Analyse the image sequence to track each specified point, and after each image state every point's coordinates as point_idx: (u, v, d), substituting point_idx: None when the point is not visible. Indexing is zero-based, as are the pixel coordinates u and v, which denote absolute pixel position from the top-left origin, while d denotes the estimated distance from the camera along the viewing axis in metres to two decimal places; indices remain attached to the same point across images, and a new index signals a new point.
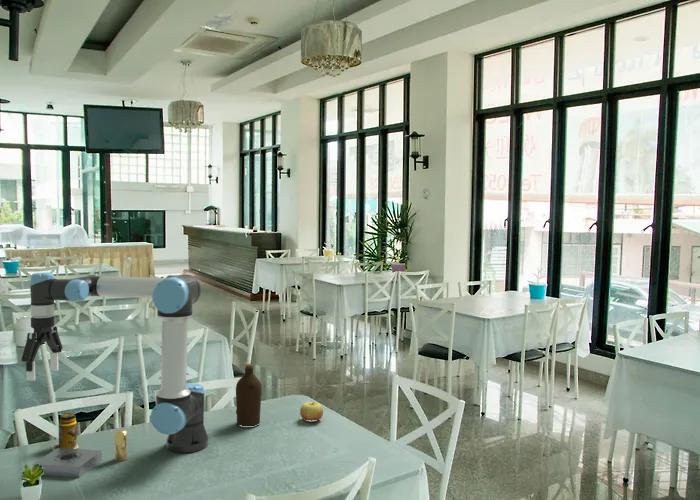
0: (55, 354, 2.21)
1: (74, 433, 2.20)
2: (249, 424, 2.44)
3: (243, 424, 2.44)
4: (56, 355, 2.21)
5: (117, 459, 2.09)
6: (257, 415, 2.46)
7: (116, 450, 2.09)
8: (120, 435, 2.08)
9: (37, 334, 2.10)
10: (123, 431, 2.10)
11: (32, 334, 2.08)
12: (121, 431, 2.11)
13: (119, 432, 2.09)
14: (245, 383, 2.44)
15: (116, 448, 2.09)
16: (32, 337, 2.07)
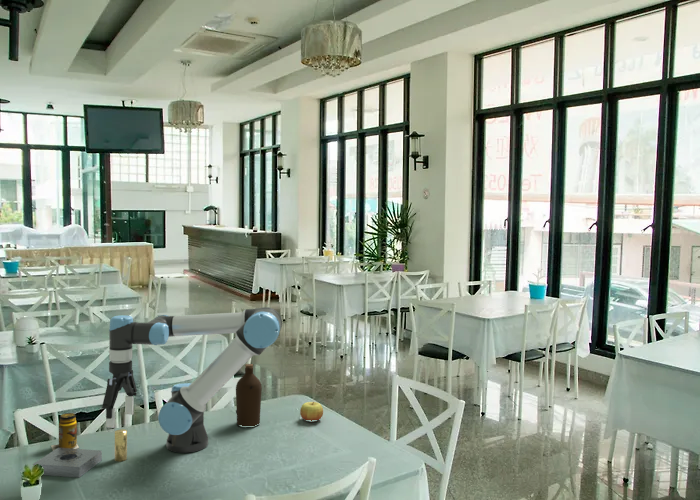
0: (130, 398, 2.16)
1: (74, 433, 2.20)
2: (249, 424, 2.44)
3: (243, 424, 2.44)
4: (131, 399, 2.16)
5: (117, 459, 2.09)
6: (257, 415, 2.46)
7: (116, 450, 2.09)
8: (120, 435, 2.08)
9: (116, 380, 2.05)
10: (123, 431, 2.10)
11: (112, 380, 2.02)
12: (121, 431, 2.11)
13: (119, 432, 2.09)
14: (245, 383, 2.44)
15: (116, 448, 2.09)
16: (112, 383, 2.02)
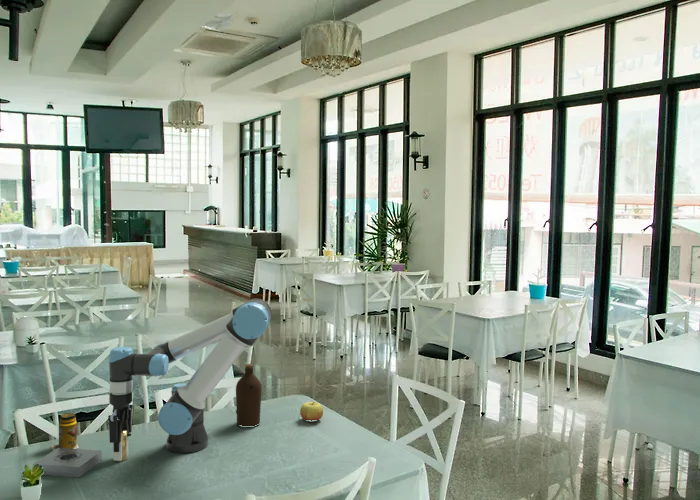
0: None
1: (74, 433, 2.20)
2: (249, 424, 2.44)
3: (243, 424, 2.44)
4: None
5: None
6: (257, 415, 2.46)
7: None
8: None
9: (117, 413, 2.06)
10: (123, 431, 2.10)
11: (113, 418, 2.03)
12: (121, 431, 2.11)
13: None
14: (245, 383, 2.44)
15: None
16: (114, 420, 2.04)
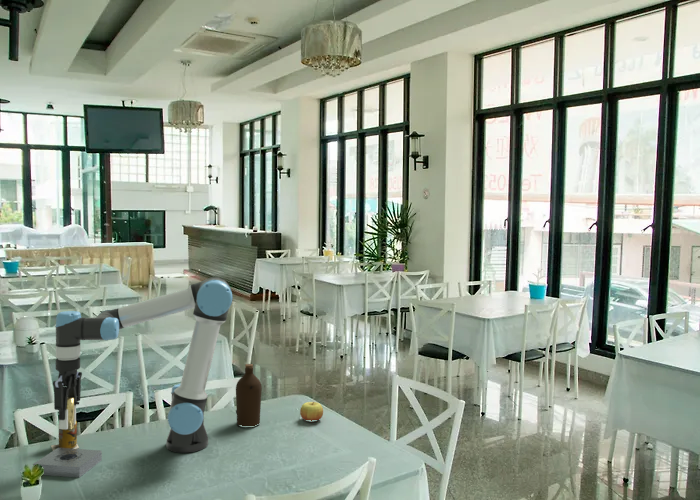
0: None
1: (74, 433, 2.20)
2: (249, 424, 2.44)
3: (243, 424, 2.44)
4: None
5: None
6: (257, 415, 2.46)
7: None
8: None
9: (63, 379, 1.98)
10: (70, 398, 2.02)
11: (58, 383, 1.95)
12: (68, 398, 2.02)
13: None
14: (245, 383, 2.44)
15: None
16: (59, 386, 1.95)
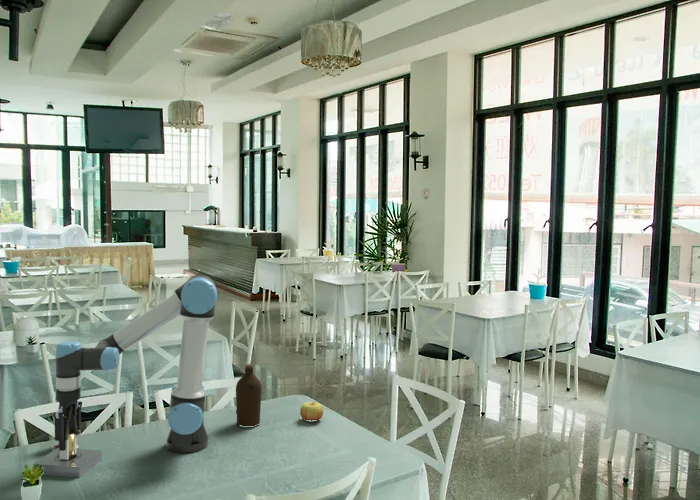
0: None
1: None
2: (249, 424, 2.44)
3: (243, 424, 2.44)
4: None
5: None
6: (257, 415, 2.46)
7: None
8: (67, 439, 2.01)
9: (63, 410, 1.98)
10: (70, 435, 2.02)
11: (58, 415, 1.96)
12: (69, 434, 2.03)
13: None
14: (245, 383, 2.44)
15: None
16: (59, 417, 1.96)
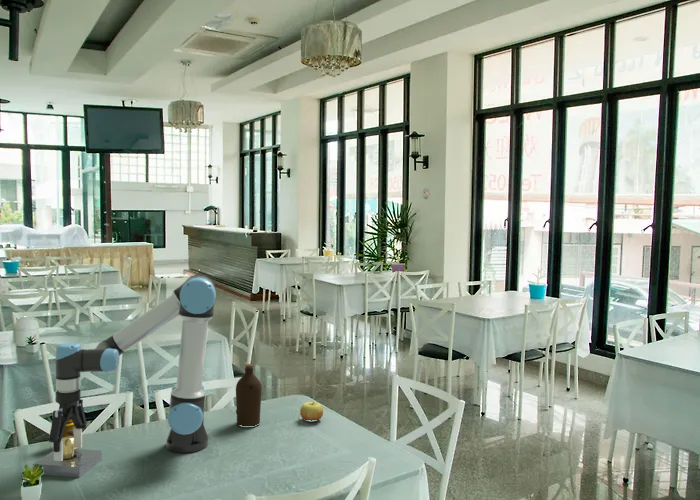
0: (79, 430, 2.08)
1: None
2: (249, 424, 2.44)
3: (243, 424, 2.44)
4: (80, 431, 2.08)
5: None
6: (257, 415, 2.46)
7: None
8: (67, 442, 2.01)
9: (63, 410, 1.98)
10: (70, 438, 2.02)
11: (58, 412, 1.95)
12: (68, 438, 2.03)
13: (65, 439, 2.01)
14: (245, 383, 2.44)
15: None
16: (58, 416, 1.95)
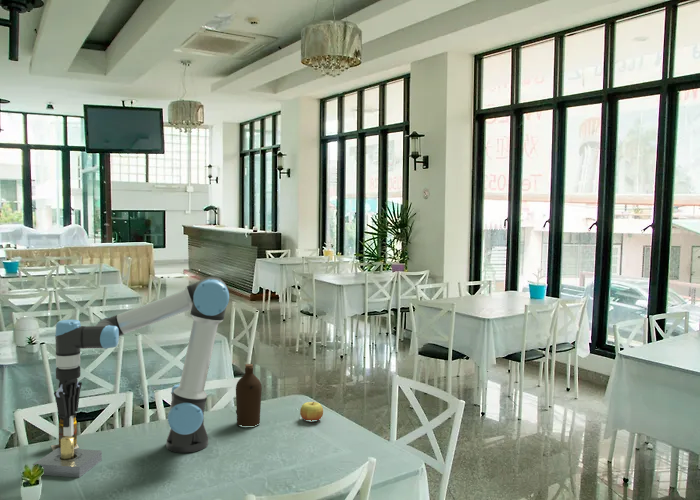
0: None
1: (74, 433, 2.20)
2: (249, 424, 2.44)
3: (243, 424, 2.44)
4: None
5: None
6: (257, 415, 2.46)
7: (62, 458, 2.01)
8: (66, 442, 2.01)
9: (63, 388, 1.98)
10: (69, 438, 2.02)
11: (59, 394, 1.96)
12: (68, 438, 2.03)
13: (65, 439, 2.01)
14: (245, 383, 2.44)
15: (62, 456, 2.01)
16: (60, 396, 1.96)
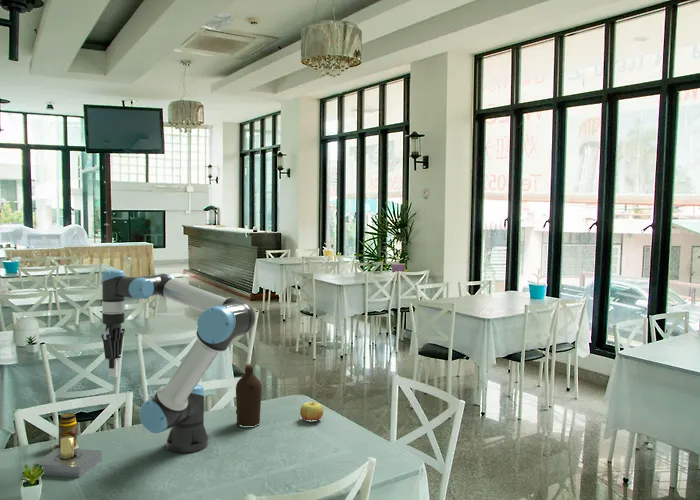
0: None
1: (74, 433, 2.20)
2: (249, 424, 2.44)
3: (243, 424, 2.44)
4: None
5: None
6: (257, 415, 2.46)
7: (62, 458, 2.01)
8: (66, 442, 2.01)
9: (109, 332, 2.15)
10: (69, 438, 2.02)
11: (106, 336, 2.13)
12: (68, 438, 2.03)
13: (65, 439, 2.01)
14: (245, 383, 2.44)
15: (62, 456, 2.01)
16: (107, 339, 2.14)
